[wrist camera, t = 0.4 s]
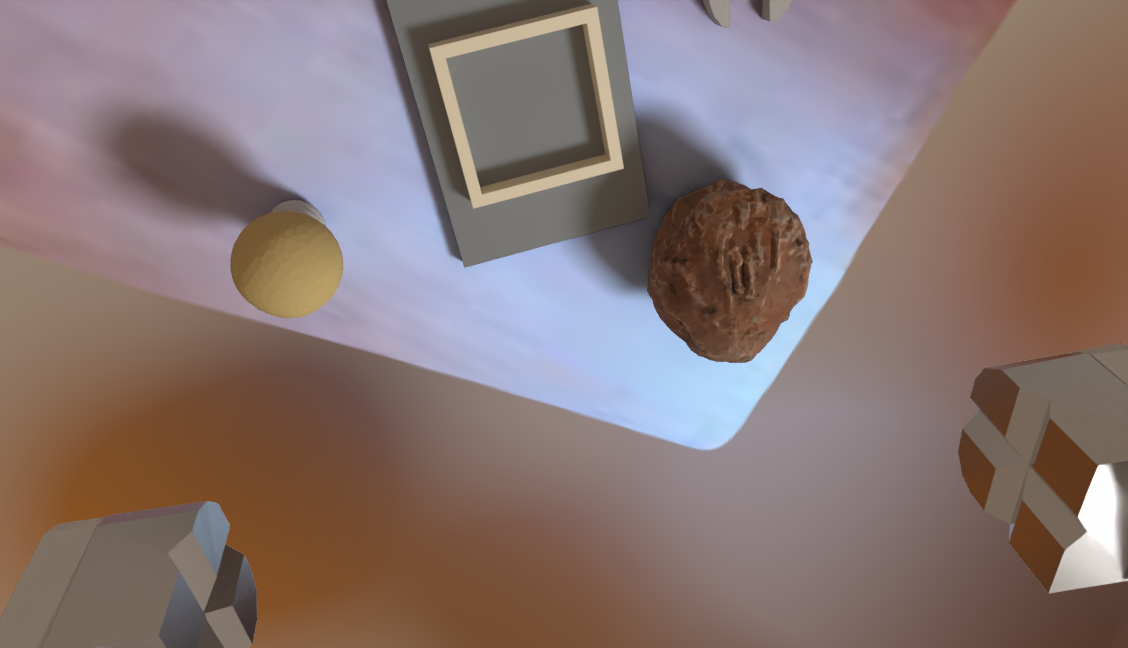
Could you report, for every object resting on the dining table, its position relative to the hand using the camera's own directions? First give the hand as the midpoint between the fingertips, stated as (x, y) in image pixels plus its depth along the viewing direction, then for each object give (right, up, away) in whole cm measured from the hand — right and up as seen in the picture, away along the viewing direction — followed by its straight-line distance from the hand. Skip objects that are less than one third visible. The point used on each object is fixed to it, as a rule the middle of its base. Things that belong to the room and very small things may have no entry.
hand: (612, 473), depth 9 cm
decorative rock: (+10, +8, +53) cm, 55 cm away
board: (-3, +16, +45) cm, 48 cm away
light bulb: (-19, +9, +46) cm, 50 cm away
